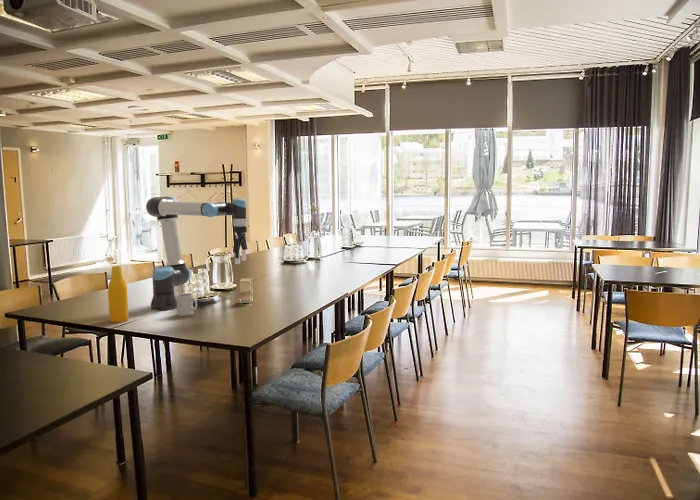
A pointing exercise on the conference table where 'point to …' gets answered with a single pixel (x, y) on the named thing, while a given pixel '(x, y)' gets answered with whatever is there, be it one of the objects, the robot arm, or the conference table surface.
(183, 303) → the mug
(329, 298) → the conference table surface
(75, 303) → the conference table surface
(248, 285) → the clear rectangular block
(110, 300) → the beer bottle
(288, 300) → the conference table surface
